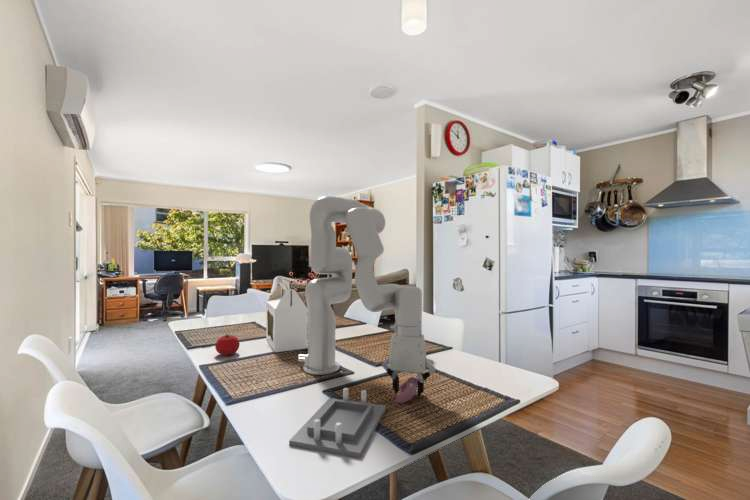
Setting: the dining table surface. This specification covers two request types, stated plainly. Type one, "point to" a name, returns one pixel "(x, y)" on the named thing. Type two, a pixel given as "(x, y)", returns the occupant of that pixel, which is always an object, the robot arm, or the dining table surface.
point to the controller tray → (340, 426)
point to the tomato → (227, 345)
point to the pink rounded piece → (408, 389)
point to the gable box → (286, 319)
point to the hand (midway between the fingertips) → (408, 392)
